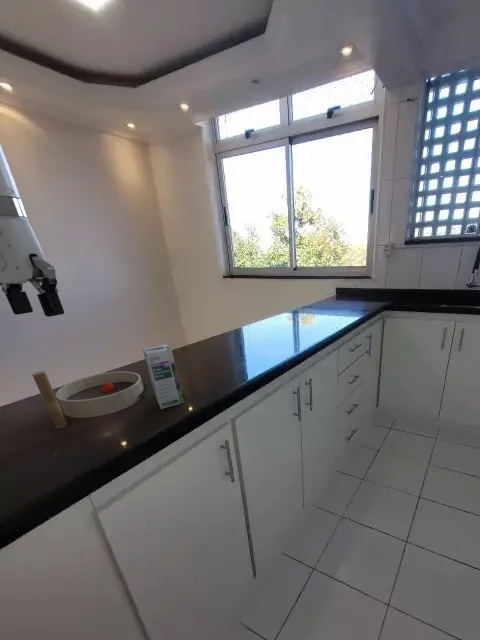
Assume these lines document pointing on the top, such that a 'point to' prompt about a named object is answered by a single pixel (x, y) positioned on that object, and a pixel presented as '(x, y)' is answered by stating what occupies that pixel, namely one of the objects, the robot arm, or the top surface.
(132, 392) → the ring
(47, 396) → the stick
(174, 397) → the syrup box
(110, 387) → the ball
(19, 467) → the top surface
